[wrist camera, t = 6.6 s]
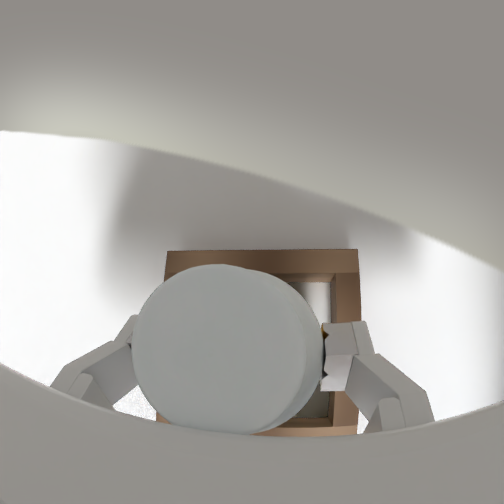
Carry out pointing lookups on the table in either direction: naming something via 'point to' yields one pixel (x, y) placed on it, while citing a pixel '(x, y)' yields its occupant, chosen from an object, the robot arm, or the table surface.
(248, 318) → the supplement bottle
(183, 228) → the table surface
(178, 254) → the wooden square frame
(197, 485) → the robot arm
